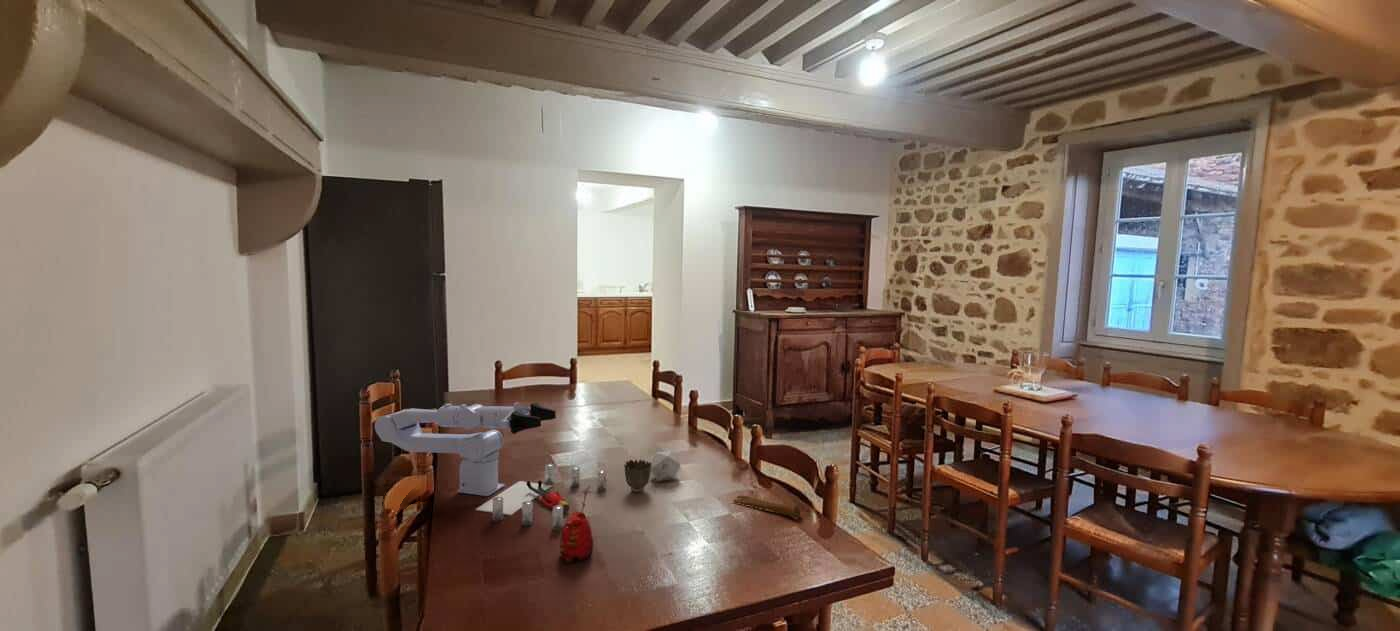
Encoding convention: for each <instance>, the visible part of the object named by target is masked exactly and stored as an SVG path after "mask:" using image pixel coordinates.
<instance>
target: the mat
mask: <svg viewBox="0 0 1400 631" xmlns="http://www.w3.org/2000/svg"><path fill="white" fill-rule="evenodd" d="M530 483H531V486H532V487H533V488H535V489H537V490H538V482H530ZM541 487H542V488H543V489H544V490H546V491H548V490H549V489H550V488H551V487H552V485H551V484H546V483H545V484H544V483H542V484H541ZM495 497H503V516H510V517H511V516H513V515H514V514H516V513H517V512H518V511H520V510H521V509H522V503H523V502H525V501H532V502H533V500H535V499H536V498H537V497H538V498H539V494H537V493H535V492H534V491H532V490H530V489H529V488H528V486H527V481H521V480H519V481H518V482H515V483H514V484H513V485H512V486H509V487H508V488H507V489H505V490H503V491H502V492H500V493H499V494H497V495H496V496H494V497H492V498H491V499H490V500H488V501H486V502H484V503H483V504H481V505H480V506H479V507H477V508H475V511H478V512H484V513H485V512H486V513H491V514H493V498H495Z"/></svg>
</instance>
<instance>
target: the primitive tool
mask: <svg viewBox="0 0 1400 631" xmlns="http://www.w3.org/2000/svg"><path fill="white" fill-rule="evenodd" d="M736 498H738V500H737V499H735V498H734V499H735V500H734V499H733V500H734V501H733V502H735V503H740V504H744V505H750V506H753V507H757V508H762V509H768V510H771V511H774V512H778V513H781V514H784V515H783V516H785V515H788V516H787V517H789V516H791V517H792V518H797V517H799V516H800V517H801V510H800V509H801V508H800V506H799V505H795V506H793V505H792V506H790V505H783V504H780V503H776V502H775V503H774V502H771V501H770V502H769V501H766V500H765V501H764V500H760V499H756V498H754V497H753V498H752V497H750V496H749V495H748V496H747V495H741V494H739V495H737V497H736ZM739 498H741V499H739ZM781 514H780V515H781ZM791 517H790V518H791ZM800 517H799V518H800Z"/></svg>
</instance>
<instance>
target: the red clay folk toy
mask: <svg viewBox="0 0 1400 631" xmlns="http://www.w3.org/2000/svg"><path fill="white" fill-rule="evenodd" d="M590 488H591V486H590V485H588V486H587V488H586V489H584V491H583V490H582V492H581V493H583V494H584V496H583V502H581V505H582V507H581V512H578V511H575V512H573V513H572V514H571V515H569V516H568V517H567V518H566V520H565V523H564V524H563V526H562V529H561V535H560V538H559V550H560V551H559V553H560V558H561V560H563V561H564V562H566V563H568V564H571V563H573V562H580V561H581V562H582V561H583V560H585V559H587V558H588V557H589V556H590V555H591V554H592V553H593V550H594V549H593V547H594V539H593V535H592V528H591V524H590V522H589V520H588V518H587V516H586V514H585V513H584V512H583V511H584V508H585V507H586V503H585V502H586V497H587V495H588V493H591V492H592V491H591V490H590V491H589V489H590Z"/></svg>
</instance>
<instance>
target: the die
mask: <svg viewBox="0 0 1400 631" xmlns="http://www.w3.org/2000/svg"><path fill="white" fill-rule="evenodd" d="M650 462H651V474H652V475H653V476H654V478H655V479H656V481H657V482H663V481H664V482H665V481H673V480H675V479H676V476H677V474H678V471H679V470H680V467H681V462H680V461H679V459H678V458H677V457H676V455H675V453H674V452H673V450H667V451H665V450H664V451H657V452H656V451H655V452H654V455H653V456H652V459H651V461H650Z"/></svg>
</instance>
